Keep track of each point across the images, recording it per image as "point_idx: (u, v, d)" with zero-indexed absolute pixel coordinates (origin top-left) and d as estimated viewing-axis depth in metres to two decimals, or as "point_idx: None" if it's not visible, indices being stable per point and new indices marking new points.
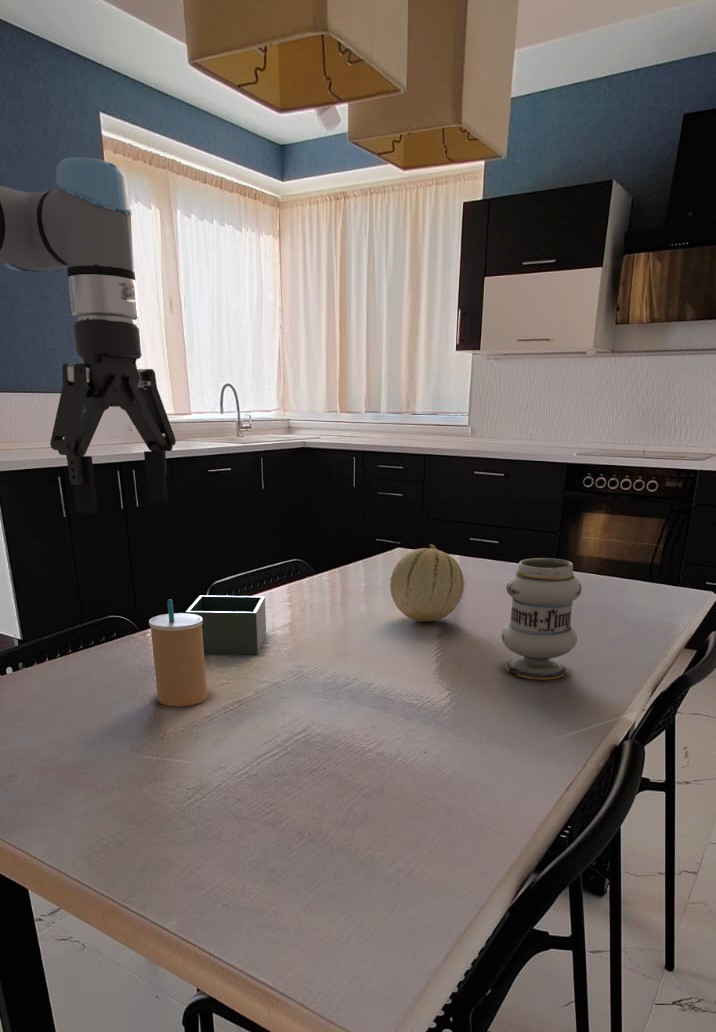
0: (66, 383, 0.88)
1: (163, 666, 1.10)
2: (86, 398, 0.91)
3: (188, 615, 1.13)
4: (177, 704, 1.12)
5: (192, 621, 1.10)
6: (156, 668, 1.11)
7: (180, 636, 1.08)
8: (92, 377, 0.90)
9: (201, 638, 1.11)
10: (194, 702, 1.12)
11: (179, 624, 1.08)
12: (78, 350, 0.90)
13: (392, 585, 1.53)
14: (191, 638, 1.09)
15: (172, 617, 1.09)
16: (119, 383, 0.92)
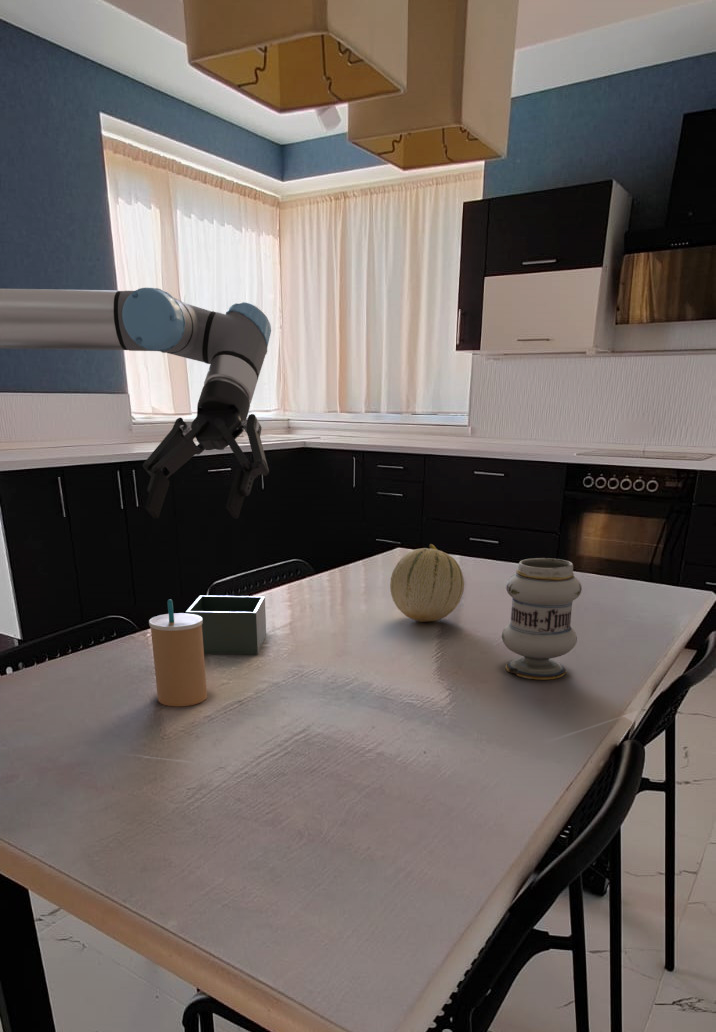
0: (255, 428, 1.14)
1: (163, 666, 1.10)
2: (232, 435, 1.14)
3: (188, 615, 1.13)
4: (177, 704, 1.12)
5: (192, 621, 1.10)
6: (156, 668, 1.11)
7: (180, 636, 1.08)
8: (242, 430, 1.16)
9: (201, 638, 1.11)
10: (194, 702, 1.12)
11: (179, 624, 1.08)
12: (236, 404, 1.15)
13: (392, 585, 1.53)
14: (191, 638, 1.09)
15: (172, 617, 1.09)
16: None
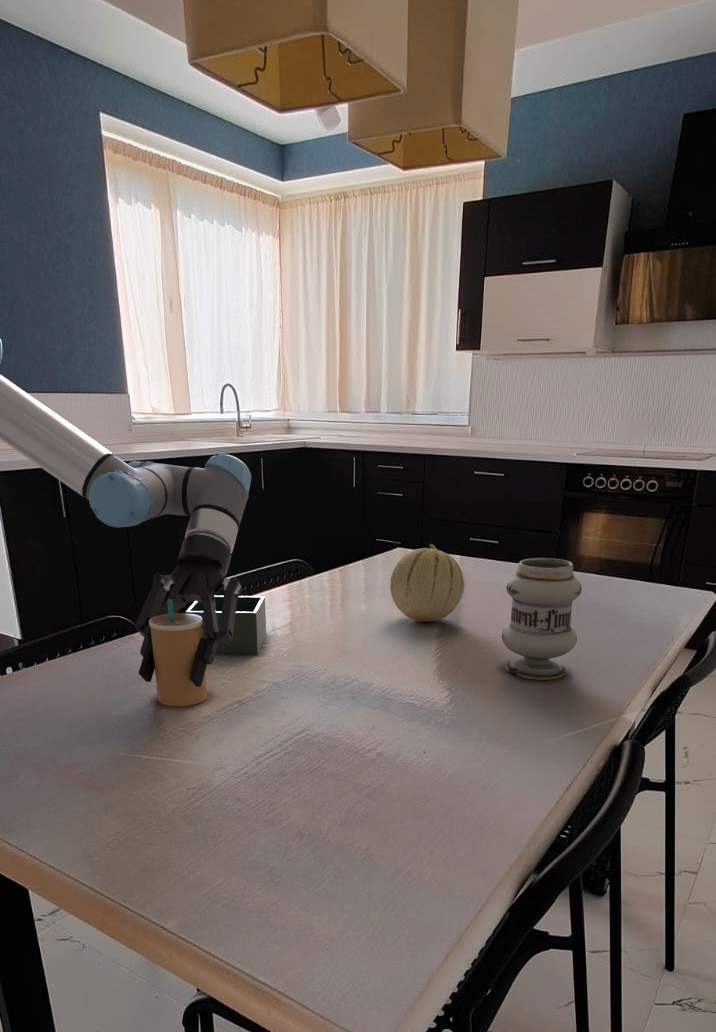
0: (233, 592, 1.14)
1: (163, 666, 1.10)
2: (209, 595, 1.14)
3: (188, 615, 1.13)
4: (177, 704, 1.12)
5: (192, 621, 1.10)
6: (156, 668, 1.11)
7: (180, 636, 1.08)
8: None
9: None
10: (194, 702, 1.12)
11: (179, 624, 1.08)
12: (219, 559, 1.15)
13: (392, 585, 1.53)
14: (191, 638, 1.09)
15: (172, 617, 1.09)
16: None
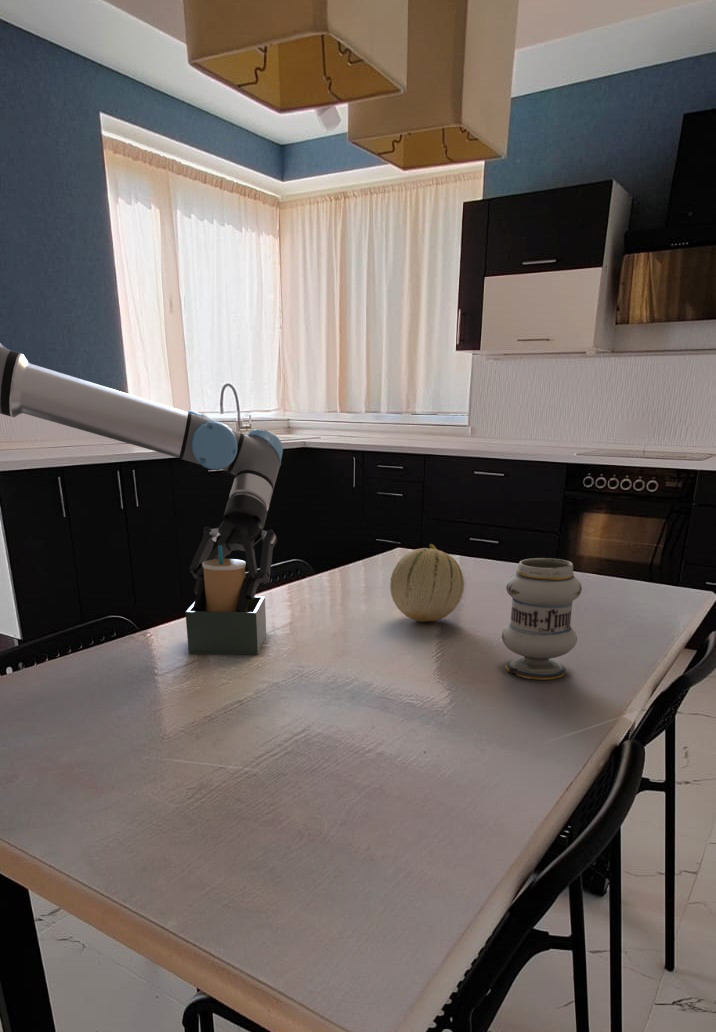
0: (270, 542, 1.38)
1: (213, 600, 1.34)
2: (250, 544, 1.38)
3: (233, 560, 1.37)
4: None
5: (237, 563, 1.34)
6: (207, 603, 1.36)
7: (228, 575, 1.32)
8: (261, 538, 1.41)
9: None
10: None
11: (227, 565, 1.33)
12: (258, 515, 1.40)
13: (392, 585, 1.53)
14: (237, 577, 1.33)
15: (221, 560, 1.33)
16: None
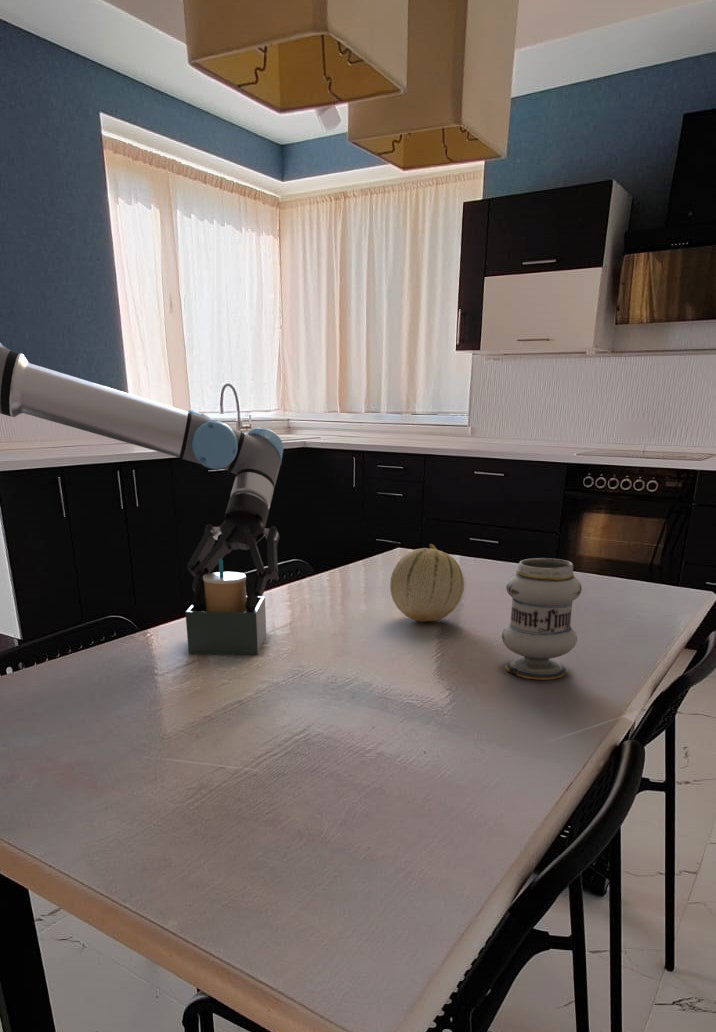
0: (274, 538, 1.38)
1: None
2: (254, 542, 1.38)
3: (234, 573, 1.38)
4: None
5: (238, 577, 1.35)
6: None
7: (229, 588, 1.33)
8: (263, 536, 1.40)
9: (245, 591, 1.37)
10: None
11: (228, 579, 1.34)
12: (260, 513, 1.39)
13: (392, 585, 1.53)
14: (237, 590, 1.34)
15: (222, 573, 1.34)
16: None
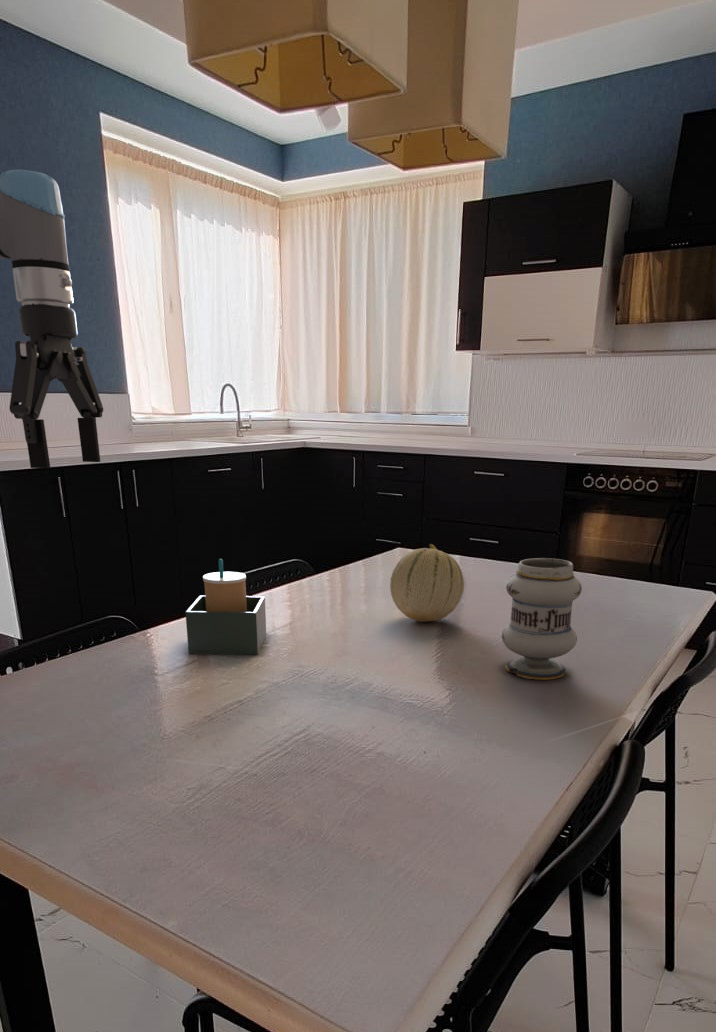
0: (19, 357, 1.05)
1: None
2: None
3: (234, 573, 1.38)
4: None
5: (238, 577, 1.35)
6: None
7: (229, 588, 1.33)
8: (39, 353, 1.07)
9: (245, 591, 1.37)
10: None
11: (228, 579, 1.34)
12: (24, 330, 1.07)
13: (392, 585, 1.53)
14: (237, 590, 1.34)
15: (222, 573, 1.34)
16: (61, 358, 1.10)
